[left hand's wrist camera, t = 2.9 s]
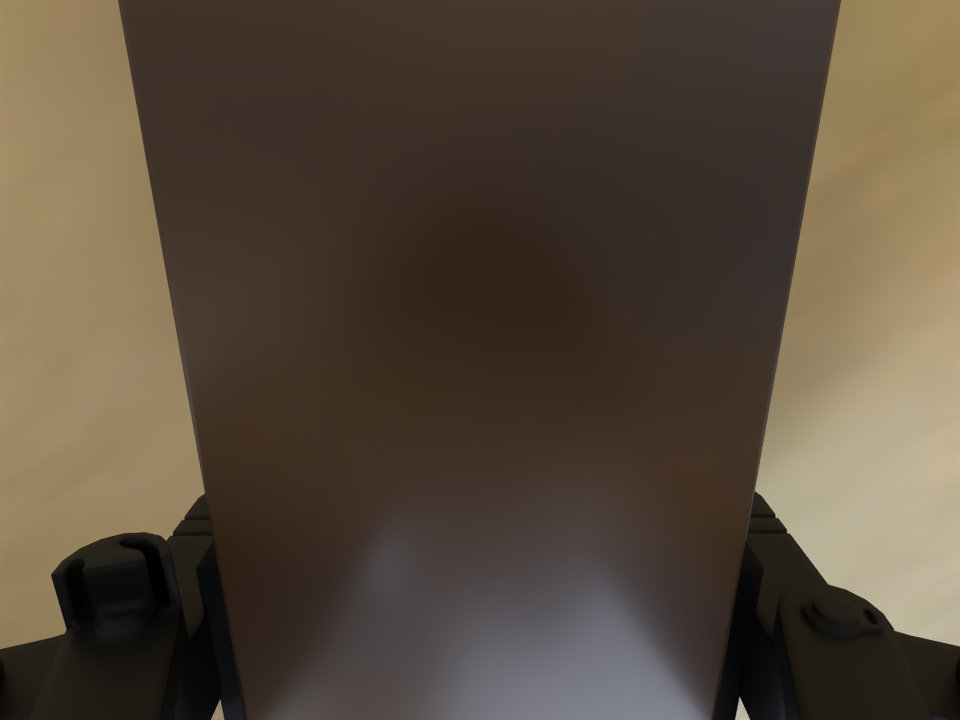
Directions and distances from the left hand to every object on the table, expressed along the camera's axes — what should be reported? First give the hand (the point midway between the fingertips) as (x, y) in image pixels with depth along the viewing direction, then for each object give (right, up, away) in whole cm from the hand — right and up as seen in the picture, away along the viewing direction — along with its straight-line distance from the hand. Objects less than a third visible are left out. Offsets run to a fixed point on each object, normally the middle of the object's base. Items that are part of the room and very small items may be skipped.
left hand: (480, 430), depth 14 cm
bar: (0, +22, -8) cm, 24 cm away
